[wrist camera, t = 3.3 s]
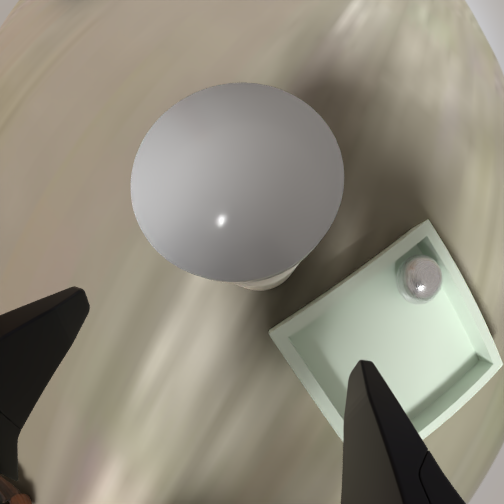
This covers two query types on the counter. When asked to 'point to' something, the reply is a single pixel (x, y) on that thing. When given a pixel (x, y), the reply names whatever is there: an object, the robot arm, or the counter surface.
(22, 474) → the counter surface
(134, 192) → the cylinder
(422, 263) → the ball
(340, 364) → the tray
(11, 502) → the pottery mug
